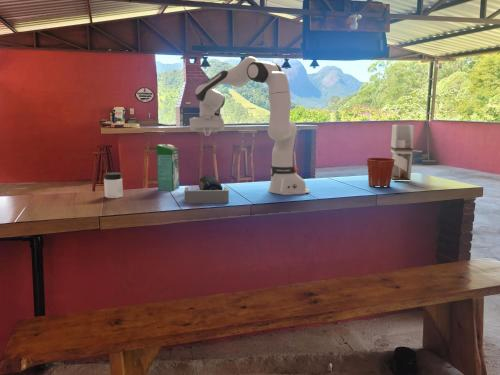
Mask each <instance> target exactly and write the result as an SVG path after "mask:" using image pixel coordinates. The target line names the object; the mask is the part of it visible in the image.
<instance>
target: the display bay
mask: <svg viewBox="0 0 500 375" xmlns="http://www.w3.org/2000/svg"><path fill="white" fill-rule="evenodd" d="M183 193H184V204H228V203H230V202H229V198H230V197H229V194H230V192H229V187H228V186H224V189H223V190H200V189H198V190H192V189H191V190H189V187H188V186H187V187H186V186H185V187H184V192H183Z"/></svg>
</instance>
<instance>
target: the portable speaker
mask: <svg viewBox="0 0 500 375" xmlns="http://www.w3.org/2000/svg"><path fill="white" fill-rule="evenodd" d="M198 188H199V190H224V189H223V186H222V184H221V182H220V181H218V180H217V178H216V177H214V176H213V175H210V174H205V175H203V176H202V177H200V179H199V181H198Z"/></svg>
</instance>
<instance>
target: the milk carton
mask: <svg viewBox="0 0 500 375" xmlns="http://www.w3.org/2000/svg"><path fill="white" fill-rule="evenodd" d="M179 167H180V166H179V148H178V147H175V145H172V144H170V143H168V144H165V143H161V144H156V173H157V191H167V190H168V191H170V192H171V191H172V192H173V191H175V189H176V190H177V189H179V188H180V176H179V175H180V171H179V169H180V168H179Z"/></svg>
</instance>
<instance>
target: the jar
mask: <svg viewBox="0 0 500 375" xmlns="http://www.w3.org/2000/svg"><path fill="white" fill-rule="evenodd" d="M123 185H124V184H123V178H122V173H121V172H118V171H117V172H116V171H115V172H114V171H113V172H105V173H104V178H103V187H104V197H105V198H107V199H119V198H122V197H124V188H123Z"/></svg>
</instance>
